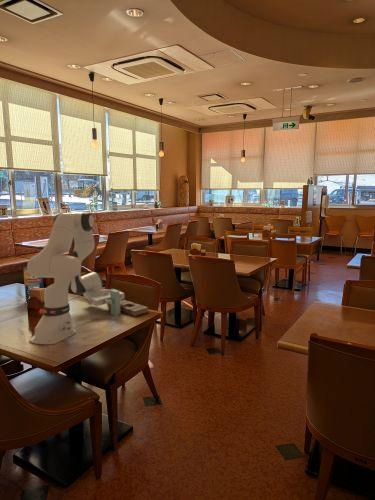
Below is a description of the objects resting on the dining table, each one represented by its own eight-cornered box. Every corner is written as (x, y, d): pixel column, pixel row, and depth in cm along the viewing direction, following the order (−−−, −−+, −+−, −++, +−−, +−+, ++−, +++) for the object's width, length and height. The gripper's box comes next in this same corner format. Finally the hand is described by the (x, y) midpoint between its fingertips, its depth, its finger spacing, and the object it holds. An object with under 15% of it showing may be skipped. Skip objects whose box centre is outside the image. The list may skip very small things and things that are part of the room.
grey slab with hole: (148, 312, 211) (148, 307, 211) (134, 316, 204) (134, 311, 203) (124, 304, 226) (124, 299, 225) (111, 308, 219) (111, 303, 218)
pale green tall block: (120, 314, 207) (119, 290, 205) (116, 315, 205) (115, 291, 203) (115, 312, 210) (114, 289, 208) (110, 314, 208) (110, 290, 206)
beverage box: (44, 301, 233) (42, 268, 230) (25, 303, 229) (23, 269, 226) (44, 298, 239) (41, 266, 236) (26, 300, 235) (23, 267, 232)
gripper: (86, 295, 207) (100, 299, 198) (115, 288, 222) (129, 292, 213) (87, 305, 208) (100, 310, 199) (116, 298, 223) (130, 302, 213)
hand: (116, 301), depth 206 cm, fingers open, 4 cm apart
